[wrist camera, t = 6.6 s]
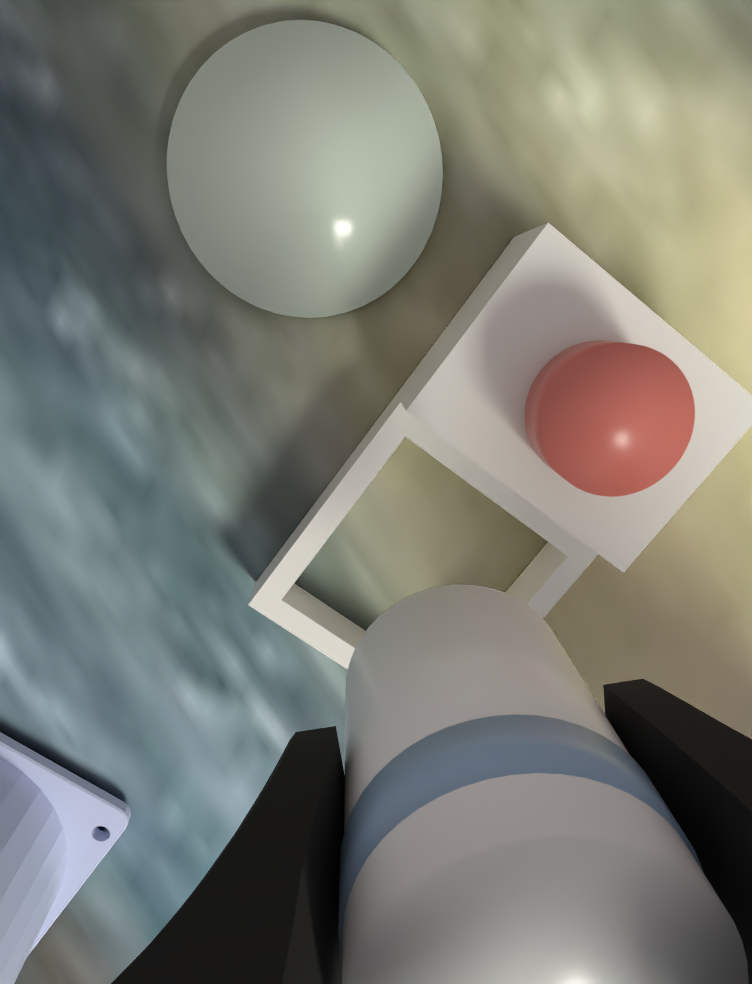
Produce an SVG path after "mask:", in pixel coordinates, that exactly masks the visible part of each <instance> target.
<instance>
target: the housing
mask: <svg viewBox="0 0 752 984" xmlns="http://www.w3.org/2000/svg"><path fill="white" fill-rule="evenodd" d="M595 340H606V341H615V342H623V343H631V344H637V345H642V346H646V347H649V348H652V349H655V350H657V351H659V352H661V353H663V354H664V355H665V356H667V357H668V358H670V359H671V360H672V361H673V362H674V363H675V364H676V365H677V366H678V367H679V368H680V370H681V371H682V372H683V374H684V375H685V377H686V379H687V381H688V383H689V385H690V388H691V390H692V394H693V398H694V405H695V421H694V427H693V432H692V436H691V439H690V442H689V444H688V446H687V448H686V451H685V452H684V454H683V456H682V457H681V459H680V460H679V462H678V463H677V464H676V465H675V467H674V468H673V469H672V470H671V471H670V472H669V473H668V474H667V475H666V476H665V477H663V478H662V479H661V480H660V481H658V482H657V483H655V484H654V485H652V486H650V487H648V488H646V489H644V490H642V491H639V492H636V493H633V494H629V495H624V496H615V497H609V496H599V495H594V494H591V493H588V492H585V491H583V490H580V489H578V488H576V487H575V486H573V485H572V484H570V483H569V482H568V481H566V480H565V479H564V478H562V477H561V476H560V475H559V474H557V473H556V472H555V471H554V470H552V469H551V468H550V467H549V466H547V465H546V464H545V463H544V462H543V461H542V460H541V459H540V458H539V456H538V455H537V454H536V452H535V451H534V449H533V448H532V445H531V443H530V441H529V438H528V435H527V432H526V426H525V406H526V401H527V397H528V393H529V391H530V388H531V385H532V384H533V382H534V380H535V378H536V376H537V375H538V373H539V372H540V371H541V369H542V368H543V367H544V366H545V365H546V364H547V362H549V361H550V360H551V359H552V358H553V357H554V356H556V355H557V354H559V353H560V352H561V351H563V350H565V349H567V348H569V347H571V346H573V345H576V344H579V343H583V342H587V341H595ZM751 425H752V395H751V394H750V393H749V392H747V391H746V390H745V389H744V388H743V387H741V386H740V385H739V384H738V383H737V382H736V381H734V380H733V379H732V378H731V377H730V376H729V375H727V374H726V373H725V372H724V371H723V370H721V369H720V368H719V367H718V366H717V365H716V364H714V363H713V362H712V361H711V360H710V359H708V358H707V357H706V356H705V355H704V354H703V353H701V352H700V351H699V350H698V349H697V348H696V347H694V346H693V345H692V344H691V343H690V342H688V341H687V340H686V339H685V338H684V337H683V336H681V335H680V334H679V333H678V332H677V331H676V330H674V329H673V328H672V327H671V326H670V325H668V324H667V323H666V322H665V321H664V320H663V319H661V318H660V317H659V316H658V315H657V314H655V313H654V312H653V311H652V310H651V309H650V308H648V307H647V306H646V305H645V304H644V303H643V302H641V301H640V300H639V299H638V298H637V297H635V296H634V295H633V294H632V293H631V292H630V291H628V290H627V289H626V288H625V287H624V286H622V285H621V284H620V283H619V282H618V281H617V280H615V279H614V278H613V277H612V276H611V275H610V274H608V273H607V272H606V271H605V270H604V269H602V268H601V267H600V266H599V265H598V264H597V263H595V262H594V261H593V260H592V259H591V258H590V257H588V256H587V255H586V254H585V253H584V252H582V251H581V250H580V249H579V248H578V247H577V246H575V245H574V244H573V243H572V242H571V241H569V240H568V239H567V238H566V237H565V236H564V235H562V234H561V233H560V232H559V231H558V230H557V229H555V228H554V227H553V226H552V225H551V224H549V223H546V224H544V225H541V226H539V227H536V228H534V229H532V230H529V231H527V232H524V233H522V234H519V235H517V236H515V237H514V238H513V239H512V240H511V242H510V243H509V244H508V246H507V247H506V248H505V250H504V251H503V252H502V254H501V255H500V256H499V258H498V259H497V260H496V262H495V263H494V264H493V266H492V267H491V268H490V270H489V271H488V272H487V274H486V275H485V276H484V278H483V279H482V280H481V282H480V283H479V284H478V286H477V287H476V288H475V290H474V291H473V292H472V294H471V295H470V296H469V298H468V299H467V300H466V302H465V303H464V304H463V306H462V307H461V308H460V310H459V311H458V312H457V314H456V315H455V317H454V318H453V319H452V321H451V322H450V323H449V325H448V326H447V327H446V329H445V330H444V331H443V333H442V334H441V335H440V337H439V338H438V339H437V341H436V342H435V343H434V345H433V346H432V347H431V349H430V350H429V351H428V353H427V354H426V355H425V357H424V358H423V359H422V361H421V362H420V363H419V365H418V366H417V367H416V369H415V370H414V371H413V373H412V374H411V375H410V377H409V378H408V379H407V381H406V382H405V383H404V385H403V386H402V387H401V389H400V390H399V391H398V393H397V394H396V395H395V397H394V398H393V399H392V401H391V402H390V403H389V405H388V406H387V407H386V409H385V410H384V411H383V413H382V414H381V415H380V417H379V418H378V419H377V421H376V422H375V423H374V425H373V426H372V427H371V429H370V430H369V431H368V433H367V434H366V435H365V437H364V438H363V439H362V441H361V442H360V443H359V445H358V446H357V448H356V449H355V450H354V452H353V453H352V454H351V456H350V457H349V458H348V460H347V461H346V462H345V464H344V465H343V466H342V468H341V469H340V470H339V472H338V473H337V474H336V476H335V477H334V478H333V480H332V481H331V482H330V484H329V485H328V486H327V488H326V489H325V490H324V492H323V493H322V494H321V496H320V497H319V498H318V500H317V501H316V502H315V504H314V505H313V506H312V508H311V509H310V510H309V512H308V513H307V514H306V516H305V517H304V518H303V520H302V521H301V522H300V524H299V525H298V526H297V528H296V529H295V530H294V532H293V533H292V534H291V536H290V537H289V538H288V540H287V541H286V542H285V544H284V545H283V546H282V548H281V549H280V550H279V552H278V553H277V554H276V556H275V557H274V558H273V560H272V561H271V562H270V564H269V565H268V566H267V568H266V569H265V570H264V572H263V573H262V574H261V576H260V577H259V579H258V580H257V581H256V583H255V586H254V589H253V592H252V595H251V598H250V601H249V604H248V605H249V606H251V607H252V608H254V609H255V610H257V611H258V612H260V613H261V614H263V615H264V616H266V617H268V618H269V619H271V620H272V621H274V622H275V623H277V624H278V625H280V626H281V627H283V628H285V629H286V630H288V631H289V632H291V633H292V634H294V635H295V636H297V637H298V638H300V639H302V640H303V641H305V642H306V643H308V644H309V645H311V646H312V647H314V648H315V649H317V650H318V651H320V652H322V653H323V654H325V655H326V656H328V657H329V658H331V659H332V660H334V661H335V662H337V663H339V664H340V665H342V666H343V667H345V668H346V669H348V667H349V663H350V660H351V657H352V655H353V652H354V650H355V648H356V646H357V644H358V642H359V640H360V639H361V637H362V636H363V634H364V633H365V630H364V629H362V628H361V627H359V626H358V625H356V624H355V623H353V622H352V621H350V620H349V619H347V618H346V617H344V616H343V615H341V614H340V613H338V612H337V611H335V610H334V609H332V608H331V607H329V606H328V605H326V604H325V603H323V602H322V601H320V600H319V599H317V598H316V597H314V596H313V595H311V594H310V593H308V592H307V591H305V590H304V589H302V588H300V587H299V586H297V585H296V584H294V583H295V581H296V580H297V579H298V577H299V576H300V575H301V573H302V572H303V571H304V569H305V568H306V567H307V566H308V564H309V563H310V562H311V560H312V559H313V558H314V556H315V555H316V554H317V552H318V551H319V550H320V548H321V547H322V546H323V545H324V543H325V542H326V541H327V539H328V538H329V537H330V535H331V534H332V533H333V531H334V530H335V529H336V527H337V526H338V525H339V524H340V522H341V521H342V520H343V518H344V517H345V516H346V514H347V513H348V512H349V510H350V509H351V508H352V506H353V505H354V504H355V502H356V501H357V500H358V499H359V497H360V496H361V495H362V493H363V492H364V491H365V489H366V488H367V487H368V485H369V484H370V483H371V481H372V480H373V479H374V478H375V476H376V475H377V474H378V472H379V471H380V470H381V468H382V467H383V466H384V464H385V463H386V462H387V460H388V459H389V458H390V457H391V455H392V454H393V453H394V451H395V450H396V449H397V447H398V446H399V445H400V443H401V442H402V441H403V439H404V438H405V437H407V438H408V439H409V440H411V441H412V442H413V443H415V444H416V445H417V446H419V447H420V448H421V449H423V450H424V451H426V452H427V453H428V454H430V455H431V456H432V457H434V458H435V459H436V460H438V461H439V462H440V463H442V464H443V465H445V466H446V467H447V468H449V469H450V470H451V471H453V472H454V473H455V474H457V475H458V476H459V477H461V478H462V479H464V480H465V481H466V482H468V483H469V484H470V485H472V486H473V487H474V488H476V489H477V490H478V491H480V492H481V493H482V494H484V495H485V496H487V497H488V498H489V499H491V500H492V501H493V502H495V503H496V504H497V505H499V506H500V507H501V508H503V509H504V510H506V511H507V512H508V513H510V514H511V515H512V516H514V517H515V518H516V519H518V520H519V521H520V522H522V523H523V524H525V525H526V526H527V527H529V528H530V529H531V530H533V531H534V532H535V533H537V534H538V535H539V536H541V537H542V538H543V539H545V540H546V541H548V542H547V543H546V544H545V546H544V547H543V548H542V549H541V550H540V552H539V553H538V554H537V555H536V556H535V558H534V559H533V560H532V561H531V562H530V564H529V565H528V566H527V567H526V568H525V570H524V571H523V572H522V573H521V574H520V576H519V577H518V578H517V579H516V580H515V582H514V583H513V584H512V585H511V586H510V588H509V589H508V590H507V591H506V592H505V593H507V594H509V595H512V596H514V597H516V598H518V599H519V600H521V601H523V602H524V603H526V604H527V605H529V606H530V607H531V608H532V609H534V610H535V611H536V612H537V613H538V614H539V615H540V616H541V617H542V618H543V619H544V617H545V616H546V615H547V614H548V613H549V612H550V610H551V609H552V608H553V607H554V606H555V604H556V603H557V602H558V601H559V600H560V599H561V597H562V596H563V595H564V594H565V593H566V592H567V590H568V589H569V588H570V587H571V586H572V585H573V583H574V582H575V581H576V580H577V579H578V578H579V576H580V575H581V574H582V573H583V572H584V571H585V569H586V568H587V567H588V566H589V565H590V564H591V562H592V561H593V560H594V559H595V558H596V557H597V555H598V554H599V555H600V556H601V557H603V558H604V559H605V560H607V561H608V562H609V563H611V564H612V565H613V566H615V567H616V568H617V569H619V570H620V571H621V572H623V573H624V572H625V571H626V569H627V568H628V567H629V566H630V565H631V564H632V563H633V561H634V560H635V559H636V558H637V557H638V556H639V554H640V553H641V552H642V551H643V550H644V549H645V548H646V546H647V545H648V544H649V543H650V542H651V541H652V539H653V538H654V537H655V536H656V535H657V534H658V533H659V531H660V530H661V529H662V528H663V527H664V526H665V525H666V523H667V522H668V521H669V520H670V519H671V518H672V516H673V515H674V514H675V513H676V512H677V511H678V510H679V508H680V507H681V506H682V505H683V504H684V503H685V501H686V500H687V499H688V498H689V497H690V496H691V495H692V493H693V492H694V491H695V490H696V489H697V488H698V487H699V485H700V484H701V483H702V482H703V481H704V480H705V478H706V477H707V476H708V475H709V474H710V473H711V472H712V470H713V469H714V468H715V467H716V466H717V465H718V463H719V462H720V461H721V460H722V459H723V458H724V457H725V455H726V454H727V453H728V452H729V451H730V450H731V449H732V447H733V446H734V445H735V444H736V443H737V442H738V440H739V439H740V438H741V437H742V436H743V435H744V434H745V432H746V431H747V430H748V429H749V428H750V427H751Z"/></svg>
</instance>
